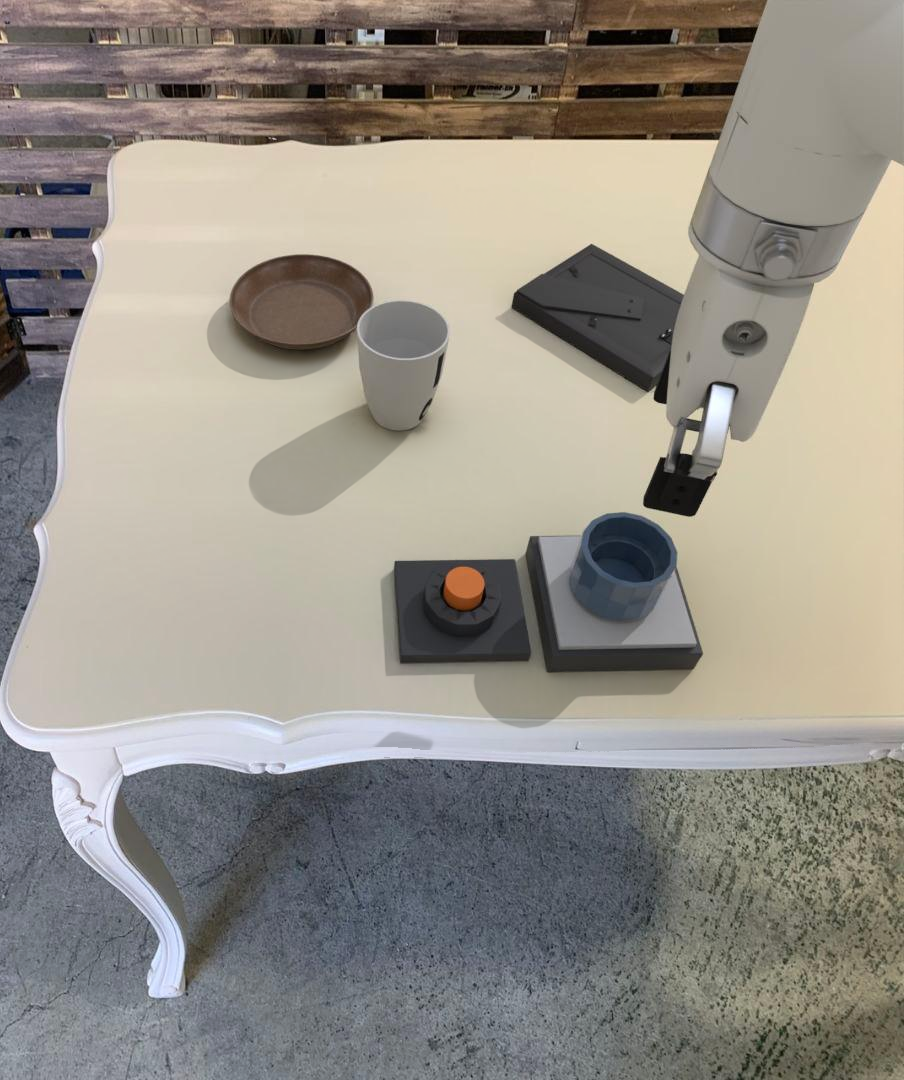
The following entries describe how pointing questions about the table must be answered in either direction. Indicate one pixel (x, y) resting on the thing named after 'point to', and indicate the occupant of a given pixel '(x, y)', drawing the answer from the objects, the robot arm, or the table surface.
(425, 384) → the cup
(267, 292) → the saucer
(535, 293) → the picture frame
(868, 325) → the table surface
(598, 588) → the blue round container
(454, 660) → the panel
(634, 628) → the scale
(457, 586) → the button
